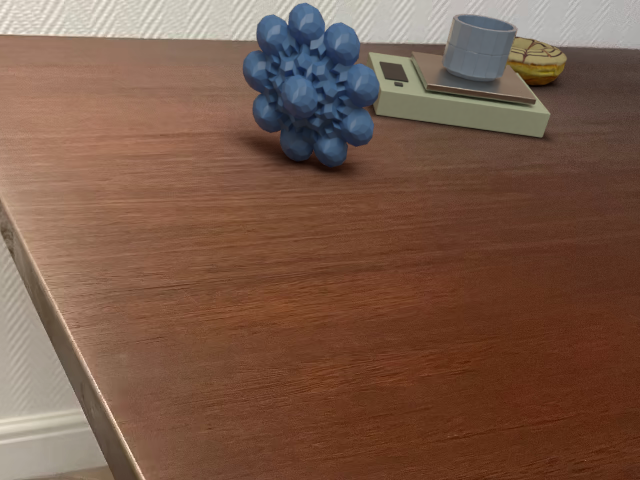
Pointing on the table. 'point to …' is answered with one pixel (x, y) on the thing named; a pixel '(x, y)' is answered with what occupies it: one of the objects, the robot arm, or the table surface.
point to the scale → (448, 102)
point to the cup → (478, 47)
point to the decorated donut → (536, 61)
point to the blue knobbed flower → (311, 85)
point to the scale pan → (470, 81)
